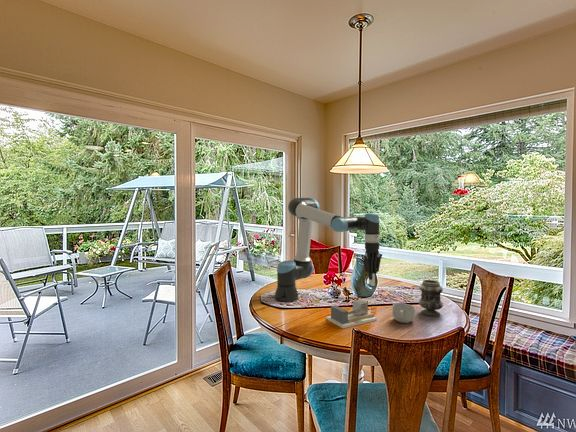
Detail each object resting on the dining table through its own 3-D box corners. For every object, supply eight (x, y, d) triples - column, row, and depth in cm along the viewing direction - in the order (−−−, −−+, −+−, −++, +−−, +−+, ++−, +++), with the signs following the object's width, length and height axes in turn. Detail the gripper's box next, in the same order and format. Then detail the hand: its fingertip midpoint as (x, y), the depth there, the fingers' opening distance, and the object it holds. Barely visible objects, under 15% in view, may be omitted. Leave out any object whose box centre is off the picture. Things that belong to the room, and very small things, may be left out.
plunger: (352, 313, 165) (352, 300, 165) (359, 312, 167) (360, 299, 167) (366, 320, 156) (366, 306, 156) (373, 318, 158) (373, 305, 158)
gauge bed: (326, 318, 162) (326, 305, 161) (358, 311, 172) (358, 299, 172) (343, 328, 149) (343, 313, 149) (376, 320, 160) (376, 306, 160)
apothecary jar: (440, 310, 173) (440, 279, 173) (444, 318, 162) (445, 284, 161) (417, 308, 177) (417, 277, 176) (420, 316, 165) (420, 283, 164)
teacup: (396, 315, 166) (397, 301, 166) (417, 320, 159) (417, 305, 159) (386, 323, 156) (387, 307, 155) (408, 329, 149) (409, 312, 148)
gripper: (367, 243, 159) (367, 288, 160) (386, 241, 165) (386, 285, 166) (358, 242, 166) (358, 285, 167) (376, 240, 172) (376, 282, 173)
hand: (372, 285), depth 167 cm, fingers closed
